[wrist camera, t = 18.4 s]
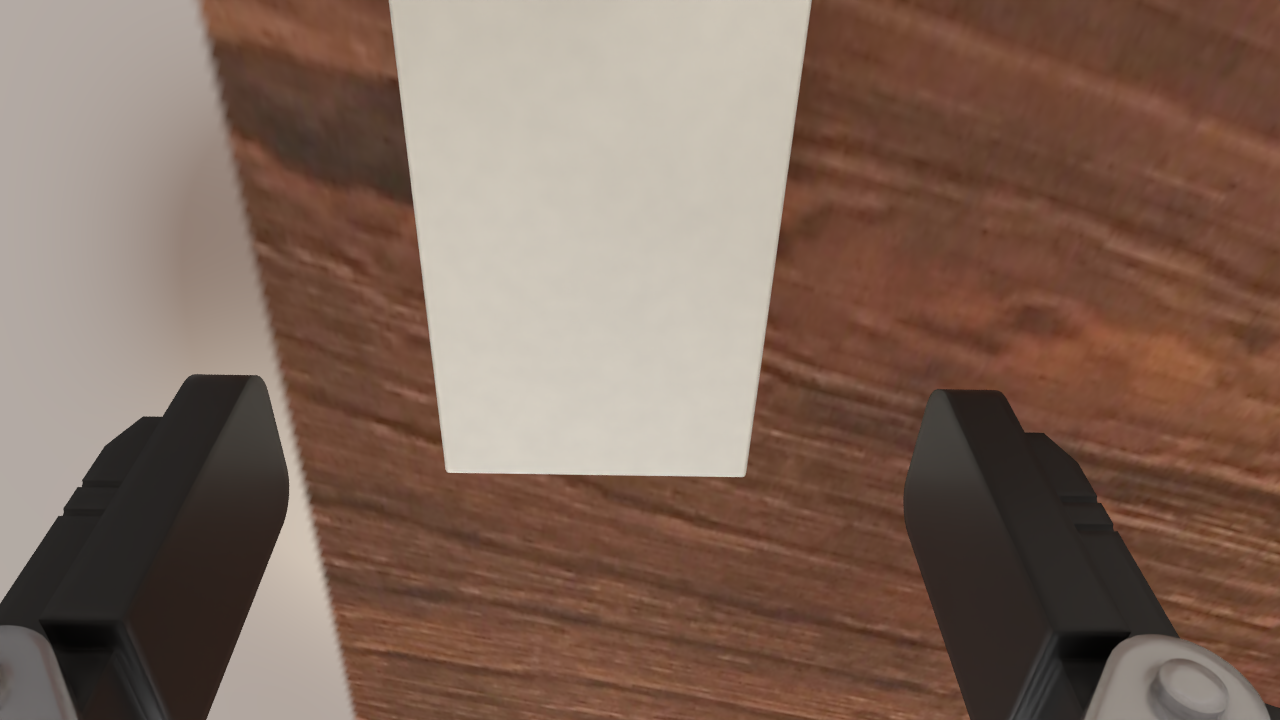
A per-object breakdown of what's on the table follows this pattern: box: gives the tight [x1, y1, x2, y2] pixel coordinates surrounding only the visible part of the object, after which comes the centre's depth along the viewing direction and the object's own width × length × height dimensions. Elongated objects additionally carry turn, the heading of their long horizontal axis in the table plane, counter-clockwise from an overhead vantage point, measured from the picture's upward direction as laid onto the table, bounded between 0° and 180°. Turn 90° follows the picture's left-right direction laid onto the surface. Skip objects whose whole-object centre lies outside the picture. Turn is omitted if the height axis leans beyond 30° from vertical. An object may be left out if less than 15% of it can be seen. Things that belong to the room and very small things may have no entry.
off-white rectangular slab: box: [389, 0, 812, 477], centre depth 15 cm, size 9×6×1 cm, turn 178°
